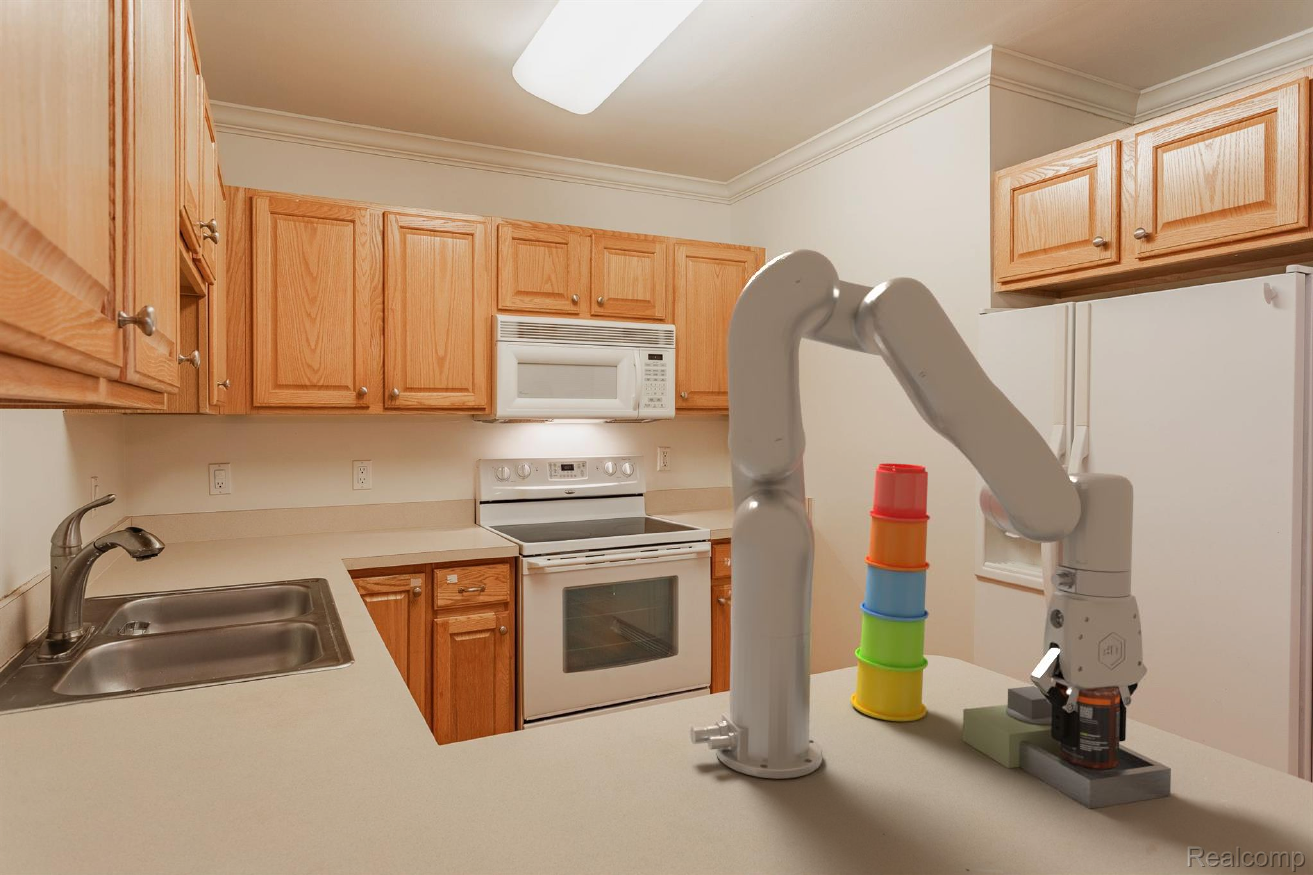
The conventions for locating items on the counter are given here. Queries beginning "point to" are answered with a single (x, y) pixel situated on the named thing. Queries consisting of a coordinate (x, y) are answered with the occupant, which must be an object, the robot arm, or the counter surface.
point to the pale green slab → (1011, 726)
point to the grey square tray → (1099, 777)
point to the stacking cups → (895, 598)
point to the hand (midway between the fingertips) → (1088, 738)
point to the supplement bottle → (1096, 729)
